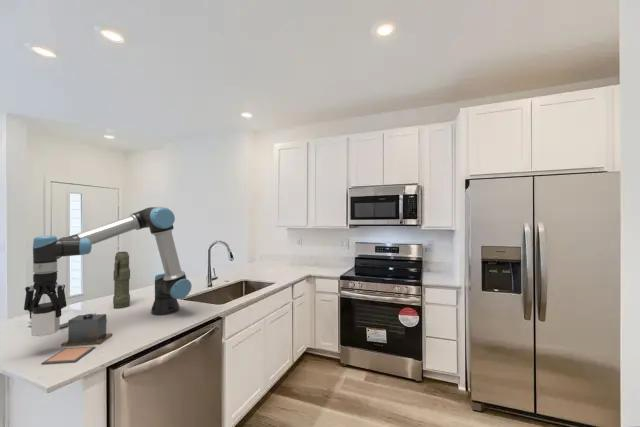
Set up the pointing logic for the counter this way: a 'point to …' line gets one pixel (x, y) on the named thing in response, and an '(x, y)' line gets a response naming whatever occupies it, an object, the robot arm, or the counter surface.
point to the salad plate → (70, 316)
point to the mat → (69, 355)
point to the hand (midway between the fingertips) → (45, 325)
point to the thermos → (121, 281)
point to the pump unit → (87, 330)
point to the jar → (43, 320)
